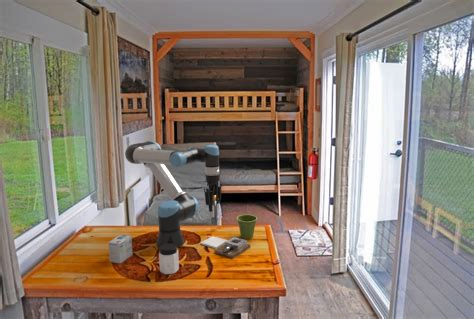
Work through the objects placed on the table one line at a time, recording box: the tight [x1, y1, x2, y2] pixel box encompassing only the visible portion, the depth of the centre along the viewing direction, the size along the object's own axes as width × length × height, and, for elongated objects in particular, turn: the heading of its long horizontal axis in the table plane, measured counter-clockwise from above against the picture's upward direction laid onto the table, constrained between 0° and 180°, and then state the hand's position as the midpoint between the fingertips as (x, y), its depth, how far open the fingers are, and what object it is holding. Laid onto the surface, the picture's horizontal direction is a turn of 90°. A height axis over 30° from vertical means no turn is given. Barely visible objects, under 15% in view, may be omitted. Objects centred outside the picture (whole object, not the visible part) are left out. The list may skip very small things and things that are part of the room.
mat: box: [199, 236, 229, 250], centre depth 211 cm, size 11×11×1 cm
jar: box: [158, 243, 180, 275], centre depth 179 cm, size 9×8×12 cm
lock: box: [214, 236, 251, 259], centre depth 201 cm, size 12×16×4 cm
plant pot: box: [236, 214, 258, 239], centre depth 219 cm, size 12×12×11 cm
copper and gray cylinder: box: [210, 195, 218, 225], centre depth 207 cm, size 3×3×16 cm
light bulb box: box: [107, 234, 133, 264], centre depth 193 cm, size 11×7×11 cm, turn 160°
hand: (213, 215), depth 208 cm, fingers closed on copper and gray cylinder, 3 cm apart
